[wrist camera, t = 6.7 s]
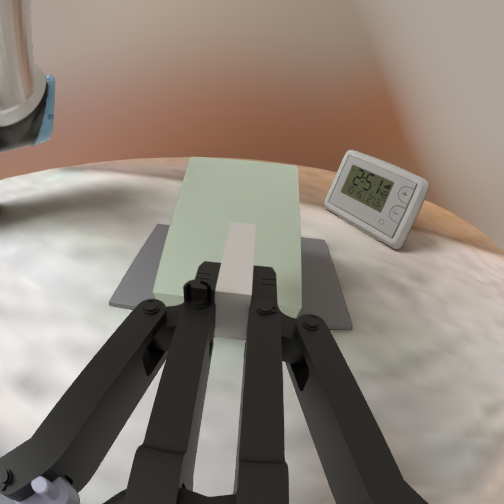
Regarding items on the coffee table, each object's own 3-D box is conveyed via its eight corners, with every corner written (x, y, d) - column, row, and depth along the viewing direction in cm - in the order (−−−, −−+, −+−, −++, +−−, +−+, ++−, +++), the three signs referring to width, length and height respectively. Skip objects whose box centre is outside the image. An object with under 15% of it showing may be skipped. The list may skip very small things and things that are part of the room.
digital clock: (317, 206, 51) (328, 146, 45) (357, 205, 54) (369, 150, 48) (380, 256, 38) (402, 181, 33) (419, 249, 41) (440, 183, 36)
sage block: (168, 323, 25) (195, 199, 32) (286, 334, 25) (287, 208, 33) (152, 292, 20) (191, 156, 27) (301, 307, 20) (297, 166, 28)
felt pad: (157, 226, 39) (157, 224, 39) (323, 242, 40) (324, 239, 39) (109, 305, 25) (108, 302, 25) (351, 329, 26) (352, 326, 26)
